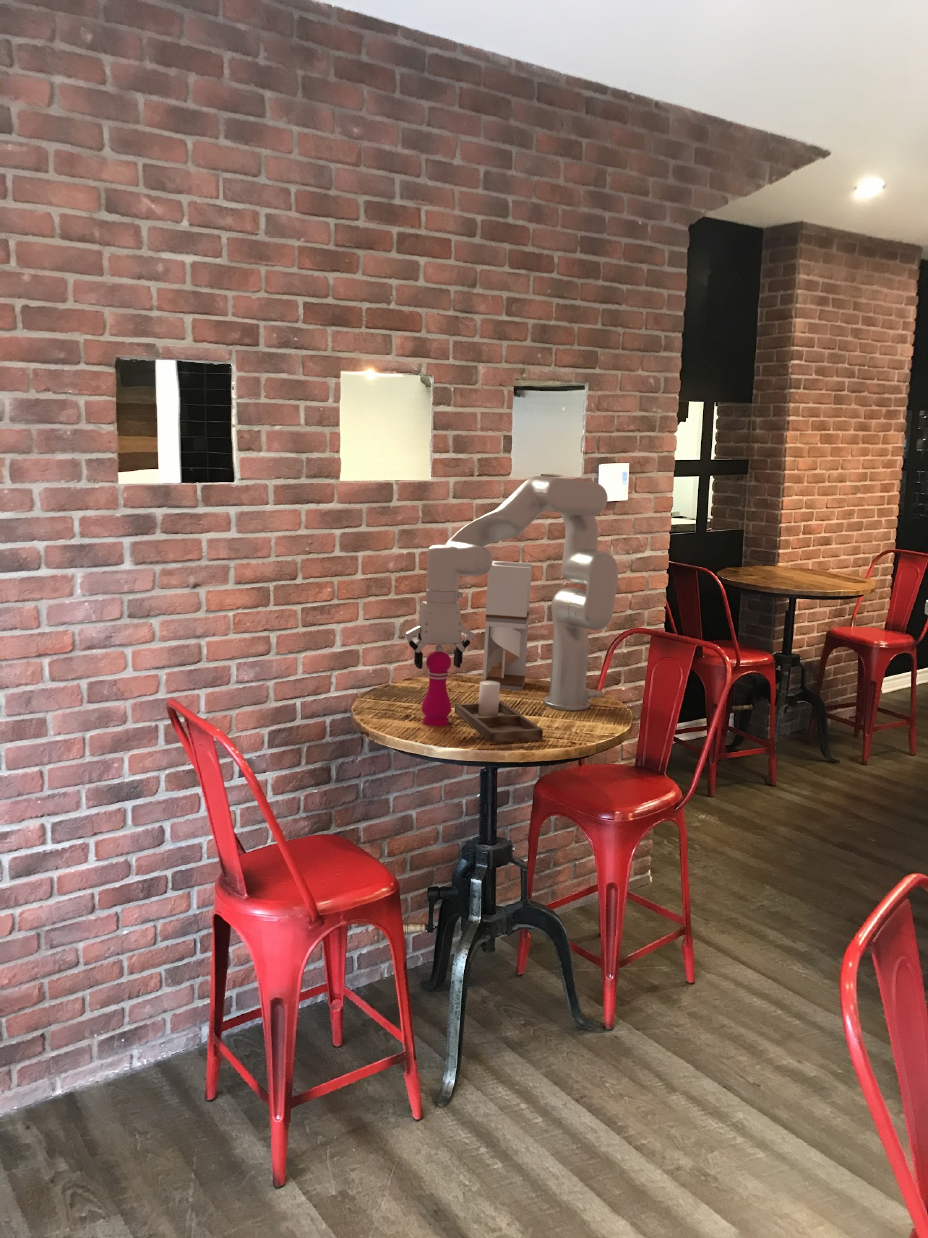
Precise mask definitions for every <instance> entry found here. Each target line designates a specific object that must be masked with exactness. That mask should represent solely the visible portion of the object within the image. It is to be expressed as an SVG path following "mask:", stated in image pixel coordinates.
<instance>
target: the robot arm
mask: <svg viewBox="0 0 928 1238" xmlns="http://www.w3.org/2000/svg"><path fill="white" fill-rule="evenodd" d="M608 499H609V498H608V493H607V491H606V489H605V488H604V486H602V485H601V484H600V483H598V482H592V481H583V480H574V479H569V478H564V477H556V476H554V477H553V476H545V475H544V476H543V475H536V476H535V475H534V476H532V477H529V478H528V479H527V480H525V481H524V482H523V483H522V484H521V485H520V486H519V487H518V488H516V490H515V491H514V492H513V493H512V494H511V495H510V496H508V498H506V500H504V501H503V502H502V503H501V504H500V505H499V506H498V507H497V508H495V510H492V511H491V512H488V513H486V514H484V515H483V516H481V517H478V518H477V519H475V520H473V521H471V522H469V523H467V524H466V525H464V526H463V527H462V528H460V529H459V530H458V531H457V532H456V533H455V534H454V535H453V536H452V537H451V538H449V540H448V541H447V542H446V543H445V544H434V545H431V546H429V548H428V551H427V562H426V565H427V566H426V584H425V585H426V586H425V587H426V588H425V600H424V601H422V602H421V605H420V608H419V609H420V610H419V614H418V621H417V626H416V627H413V628H412V629H410V630H408V631H406V632H405V633H403V634H404V635H403V636H404V638H405V640H406V642H407V644H408V645H409V647H410V648H411V649H412V650H413V651H414V653H413V654H414V655H413V656H414V658H413V664H414V665H415V667H416V668H417V669H419V670H422V669H423V660H424V658H423V657H424V653H423V652H422V651H423V649H424V648H425V647H426V646H427V645H429V646H432V645H433V646H438V645H441V646H442V645H444V646H446V645H453V646H454V647H455V649H454V650H453V666H454V667H456V668H458V669H461V664H462V663H463V656H464V653H463V652H465V650H466V649H467V648H468V647H469V645H471V642H472V640H473V638H474V637H475V633H474V632H473V631H471V630H469V629H467V628H466V627H463V625H462V614H461V605H460V603H459V602H458V601H459V599H463V597H464V593H463V592H460V591H459V590H458V589H459V576H467V577H474V578H475V577H482V576H483V575H486V574H488V571H489V570H490V568H491V566H492V561H493V557H492V554H491V552H490V551H489V550H488V548H485V547H486V546H487V545H490V544H492V543H497V542H499V541H506V540H510V539H512V538H515V537H518V536H519V535H521V534H522V533H523V532H524V531H525V530H526V529H527V528H528V527H529V526H530V525H531V524H533V522H534V521H535V520H536V519H537V518H538V517H539V516H540V515H541V514H543V512H552V513H559V515H560V516H561V518H562V521H563V522H564V527H565V535H564V545H563V553H562V563H561V575H562V577H563V578H564V579H565V580H567V582H570V583H573V584H578V585H581V586H586V590H585V589H580V588H575V587H565V588H562V589H560V590H558V591H557V592H556V593H555V594H554V595H553V598H552V600H551V605H550V606H551V607H550V608H551V620H552V629H553V630H552V633H553V634H552V646H551V647H552V649H551V650H552V651H551V663H550V678H549V679H550V680H549V692H548V693H549V694H548V695H546V696H545V697H543V699H542V703H543V705H545V706H546V707H548V708H551V709H555V710H561V711H582V710H587V709H589V708H590V706H591V701H590V700H591V699H592V698H593V699H601V697H602V696H603V695H602V691H601V690H593V689H588V688H586V687H587V686H586V684H587V670H588V660H589V659H588V658H589V657H588V656H589V646H590V645H589V643H590V642H589V634H588V630H590V631H601V630H603V629H605V628H607V626H608V625H609V624H610V622H611V620H612V618H613V615H614V614H613V613H614V610H615V602H616V596H617V586H618V579H619V567H618V563H617V560H616V559H615V558H614V556H613V555H611V554H610V553H609V552H606V551H602V550H598V538H599V527H598V522H597V519H596V516H598V515H599V514H601V513H603V511H604V510H605V509H606V507H607V504H608ZM462 634H464V635H465V638H464V639H463V640H462ZM415 635H416V639H417V642H416V643H415V642H414V640H413V638H414V636H415Z"/></svg>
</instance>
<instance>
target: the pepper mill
mask: <svg viewBox="0 0 928 1238" xmlns="http://www.w3.org/2000/svg"><path fill="white" fill-rule="evenodd" d="M451 659H452V658H451V656H450V655H449V654H448V653H447V652H445V651H444V647H443V646H442V645H435V651H431V652H430V653H429V654H428V655H427V657H426V660H425V663H426V664H425V665H426V667H427V668H428V671H427V677H428V679H429V681H428V683H429V684H428V689H427V692H426V694H425V696H424V698H423V699H422V703H421V711H422V713H423V715H424V716H423V718H422V722H423V723H422V724H424V725H426V726H431V727H442V726H443V727H444V726H448V724H449V723H450V722H449V721H450V719H449V718H448V716H449V715H450V714H451V712H452V703H451V699H450V697H449V694H448V690H447V679H448V678H449V671H448V670H449V669H450V668H451V666H452V660H451Z"/></svg>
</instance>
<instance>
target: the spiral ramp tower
mask: <svg viewBox="0 0 928 1238" xmlns="http://www.w3.org/2000/svg"><path fill="white" fill-rule="evenodd" d="M532 571H533V563H531V562H514V561H499V560H492V566H491V568H490V570H489V571H488V572H487V582H486V584H487V585H486V603H485V619H484V620H485V622H484V624H485V625H484V626H485V631H484V645H483V646H484V648H483V650H484V651H483V664H482V665H483V668H482V670H483V671H482V681H495V682H499V683H500V690H505V689H510V690H509V691H517V692H523V688H524V686H525V683H526V668H527V667H526V666H527V653H528V652H527V651H528V635H529V622H530V621H529V620H530V619H529V618H530V607H531V606H530V605H531V604H530V601H531V590H532V589H531V587H532V585H531V584H532V573H533V572H532Z"/></svg>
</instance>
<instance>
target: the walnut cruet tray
mask: <svg viewBox="0 0 928 1238" xmlns="http://www.w3.org/2000/svg"><path fill="white" fill-rule="evenodd" d="M478 706H479V702H470V703H455V704H454V713H455V714H456V715H457V717H459V718H460V719H462V721H464V722H465V723H466V724H467V725H469V726H470V727H472V728H473V730H475V731H476V732H478V733H479V734H480V735H481V736H482V737H484V738H485V739H486V740H487V741H489V742H490V743H491V744H489V745H490V746H503V745H514V744H513V743H514V741H516V742H518V741H521V742H519V743H520V744H530V743H529V742H530V741H534V740H537V741H535V743H539V742H538V740H543V736H544V735H543V732H544V729H543V728H541V727H540V726H538V725H536V723H534V722H533V721H532V720H530V719H528V718H527V717H525V716H524V715H522V714H521V713H520V712H518V711H516V710H515V709H513V708H512V707H511V706H510V705H508V704H507V703H505V702H503V701H499V709H498V716H484V717H478ZM523 741H525V742H523ZM500 742H505V743H500ZM507 742H508V743H507ZM501 744H503V745H501Z"/></svg>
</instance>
